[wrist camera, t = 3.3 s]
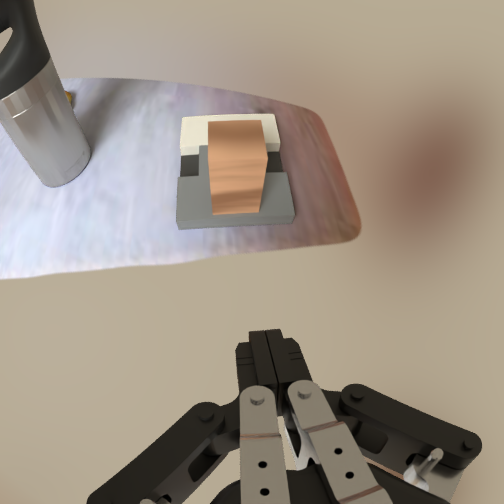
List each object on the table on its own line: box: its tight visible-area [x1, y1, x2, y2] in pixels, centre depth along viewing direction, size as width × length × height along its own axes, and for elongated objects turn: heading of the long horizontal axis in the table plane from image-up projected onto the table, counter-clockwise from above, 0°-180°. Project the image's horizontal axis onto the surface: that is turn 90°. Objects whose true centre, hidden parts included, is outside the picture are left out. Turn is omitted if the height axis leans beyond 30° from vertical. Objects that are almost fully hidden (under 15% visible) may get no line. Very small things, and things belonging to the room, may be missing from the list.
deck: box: [176, 145, 295, 230], centre depth 35 cm, size 11×13×2 cm
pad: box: [180, 114, 280, 156], centre depth 38 cm, size 6×13×2 cm, turn 95°
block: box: [208, 120, 268, 215], centre depth 29 cm, size 5×5×9 cm
